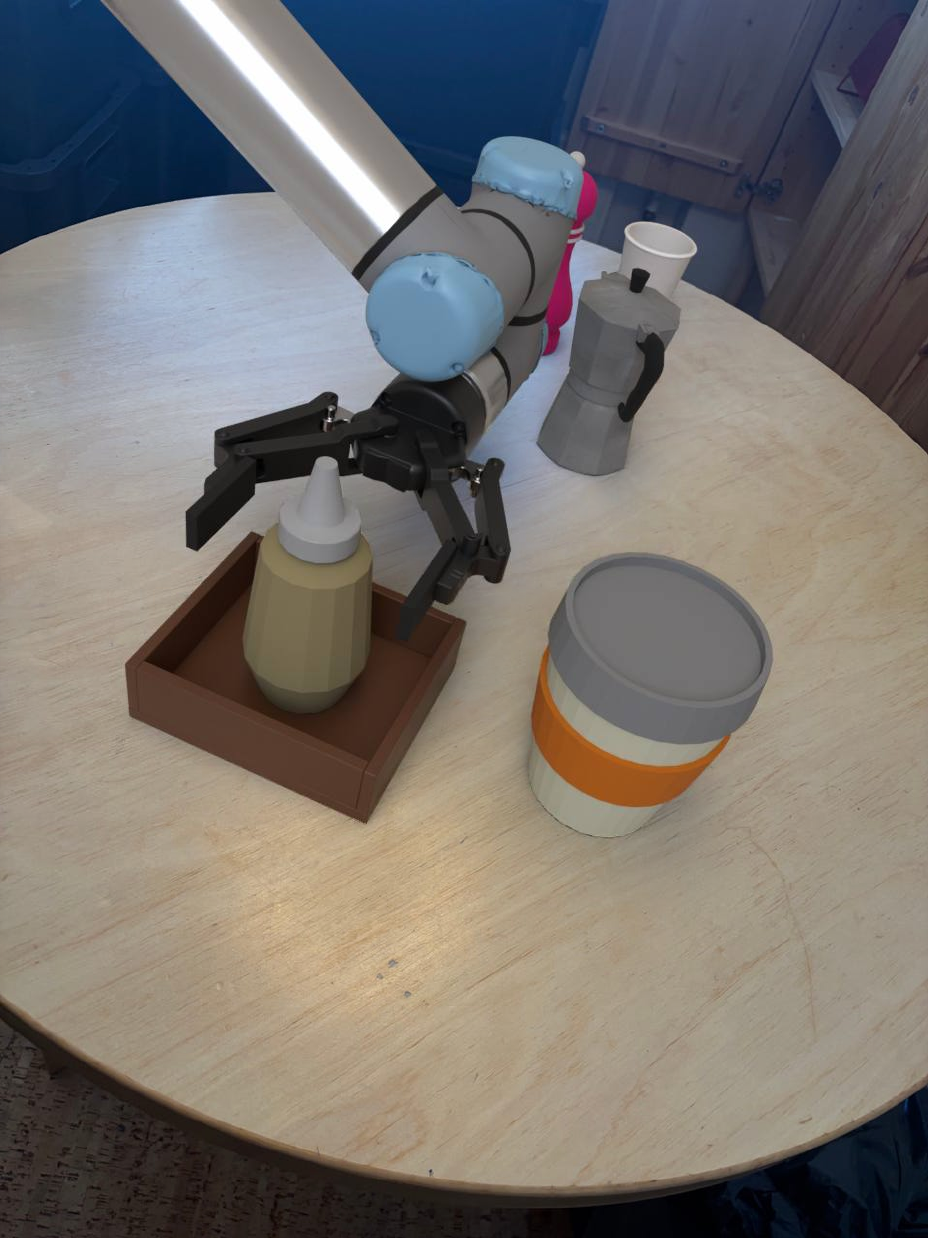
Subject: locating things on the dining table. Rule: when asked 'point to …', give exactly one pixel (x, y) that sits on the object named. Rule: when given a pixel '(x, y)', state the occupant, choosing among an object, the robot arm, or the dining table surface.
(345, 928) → the dining table surface
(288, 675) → the squeeze bottle
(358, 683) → the brown tray
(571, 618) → the reusable coffee cup
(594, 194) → the pepper mill
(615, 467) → the coffeepot
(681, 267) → the dixie cup
